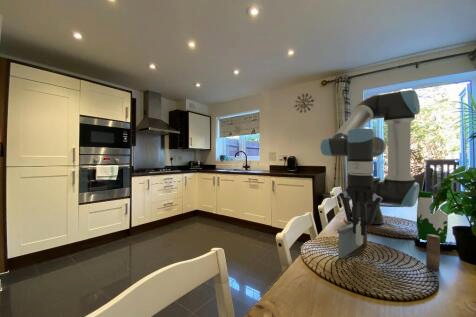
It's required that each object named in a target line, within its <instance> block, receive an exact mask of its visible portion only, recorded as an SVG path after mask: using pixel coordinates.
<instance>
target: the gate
mask: <svg viewBox="0 0 476 317" xmlns="http://www.w3.org/2000/svg"><path fill="white" fill-rule="evenodd" d="M358 224H361V221H359V223H358ZM337 234H338V253H337V255H338V258H340V259H344V258H345V257H346V256H348V255H349V254H351V253H352V252H354V251H356V250H357V249H359V248H360V247H363V246H362V245H361V246H360V245H356V234H355V233H353V223H352V224H350V225H349V224H348V225H345V226H344V227H341V228H339V229H337Z"/></svg>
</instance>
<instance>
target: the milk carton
mask: <svg viewBox="0 0 476 317" xmlns="http://www.w3.org/2000/svg"><path fill="white" fill-rule="evenodd" d="M433 196H434V195H433V193H432V192H431V191H427V190H419V194H418V198H417V205H416V230H417V236H418V240H419V239H422V240H427V234H432V235H437V236H439V237H440V243H445V244H446V242H447V236H448V225H449V223H448V222H449V221H448V220H449V214H448V215H446V214H444V213H443V212H442V211H440V209H439V210H438V211H437V212H435V213H434V214H432V215H430V212H429V205H430V204H431V203H432V200H433Z"/></svg>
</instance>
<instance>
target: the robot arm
mask: <svg viewBox="0 0 476 317" xmlns="http://www.w3.org/2000/svg"><path fill="white" fill-rule="evenodd" d="M420 107H421V106H420V100H419V96H418V93H417V91H416V90H414V89H413V88H407V89H400V90H399V89H398V90H393V91H389V92H385V93H377V94H374V95H371V96H369V97H367V98H365V99H364V100H362V101H361V102H359V103H358V104H357V105H356V106H355V107H353V109H352V111H351V115H350V116H349V117H348V119H346V120H345V122H344V123H343V124H342V125H341V127H340V128H339V129H338V130H337V132H335V134H334V135H333V136H332V137H328V138H323V139H322V140H321V142H320V151H321V155H323V156H326V157H332V158H333V157H347V173H348V174H347V176H346V178H347V179H346V180H347V182H346V183H347V186H346V189H345V190H344V191H343V192H340V193H339V194H338V196H339V197H340V199H341V200H342V205H343V209H344V213H345V217H346V221H347V222H348V221H350V222H352V223H353V233H355V234H356V245H360V247H362V246H361V245H362V244H363V236H365V235H366V226H367V227H368V226H372V225H371V224H381V225H383V224H382V223H385V220H384V219H385V218H384V215H383V213H382V212H383V211H382V209H381V204H386V205H391V206H397V207H403V208H404V207H406V208H413V207H414V206H415V205H416V203H417V202H418V195H419V191H420V183H418V182H415V180H416V178H415V177H414V176H413V175H412V174H411V133H412V132H411V129H412V128H411V123H412V122H413V121H414V120H415V117H416V115H419V114H420V111H421V109H420ZM374 119H375V120H376V119H383V122H384V123H385V124H386V125H387V143H386V142H385V141H384V139H383V138H381V137H379V136H376V135H374V129H373V128H372V127H365V125H366V124H367V123H370V122H371V121H372V120H374ZM386 149H387V174H386V175H385V176H384V178H383V179H382V178H381V176H373V175H372V174H374V158H376V157H379V156H381V155H383V154H384V153H385V151H386ZM349 198H350V200H351V204H350V200H349ZM351 206H352V207H353V210H352V207H351ZM351 211H352V212H351ZM359 218H361V224H358V223H359Z"/></svg>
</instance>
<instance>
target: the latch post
mask: <svg viewBox="0 0 476 317" xmlns="http://www.w3.org/2000/svg"><path fill="white" fill-rule="evenodd" d="M425 254H426V255H425V258H426V259H425V261H426V262H425V264H426V265H425V267H426V269H428V270H430V271H434V272H440V265H441V263H440V262H441V261H440V260H441V259H440V258H441V257H440V256H441V247H440V237H439V236H437V235H432V234H427V244H426V253H425Z"/></svg>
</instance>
